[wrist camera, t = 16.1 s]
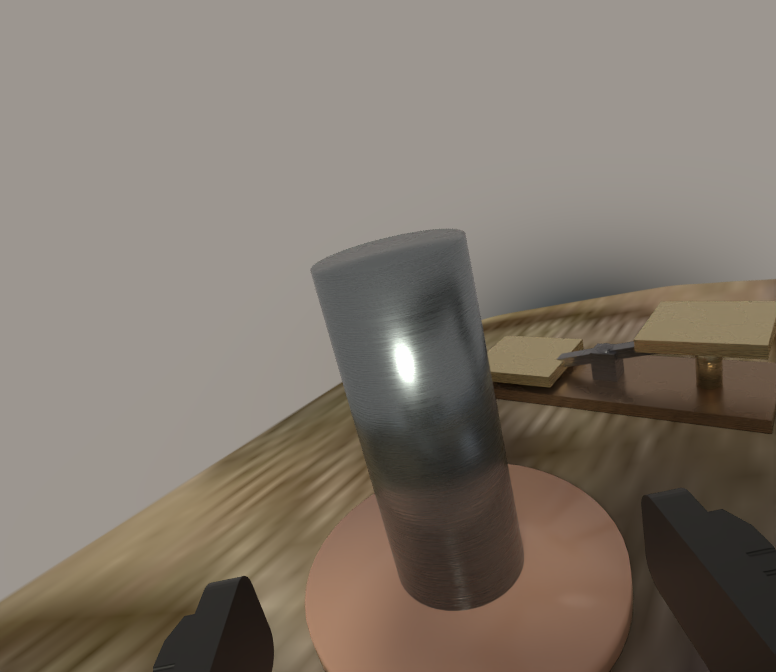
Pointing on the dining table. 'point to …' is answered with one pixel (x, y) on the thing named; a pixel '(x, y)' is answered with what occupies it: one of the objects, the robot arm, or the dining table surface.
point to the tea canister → (425, 412)
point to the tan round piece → (489, 622)
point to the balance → (655, 368)
